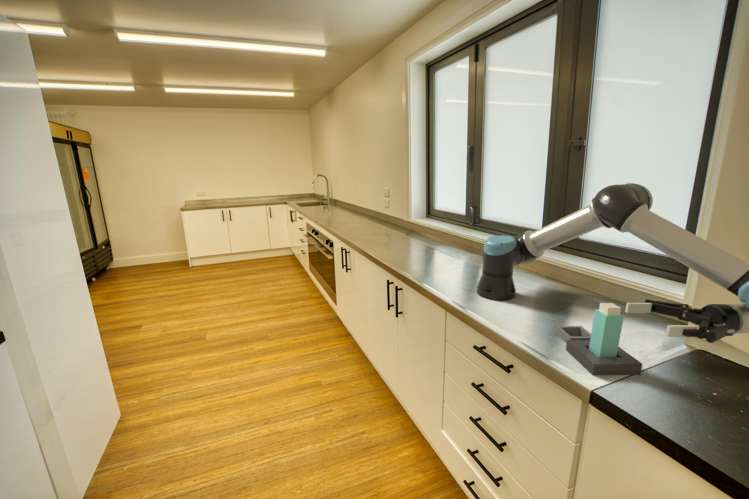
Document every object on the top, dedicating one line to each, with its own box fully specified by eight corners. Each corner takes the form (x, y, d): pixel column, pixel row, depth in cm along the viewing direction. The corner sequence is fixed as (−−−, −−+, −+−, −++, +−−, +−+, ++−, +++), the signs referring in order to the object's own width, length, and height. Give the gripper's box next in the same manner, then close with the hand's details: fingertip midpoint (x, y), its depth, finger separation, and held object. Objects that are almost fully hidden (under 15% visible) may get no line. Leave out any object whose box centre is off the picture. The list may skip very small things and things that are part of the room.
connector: (587, 357, 93) (596, 302, 89) (603, 357, 93) (613, 302, 89) (597, 366, 89) (607, 308, 85) (614, 366, 89) (625, 308, 85)
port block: (565, 349, 97) (567, 340, 96) (607, 349, 97) (609, 340, 96) (592, 374, 85) (594, 364, 84) (640, 374, 85) (642, 363, 84)
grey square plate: (555, 333, 106) (556, 326, 106) (579, 333, 106) (580, 326, 106) (569, 345, 99) (570, 338, 98) (595, 345, 99) (596, 337, 98)
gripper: (778, 358, 78) (685, 357, 77) (681, 312, 102) (610, 311, 102) (787, 327, 76) (692, 327, 76) (687, 288, 100) (615, 288, 100)
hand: (645, 318), depth 89 cm, fingers open, 13 cm apart
